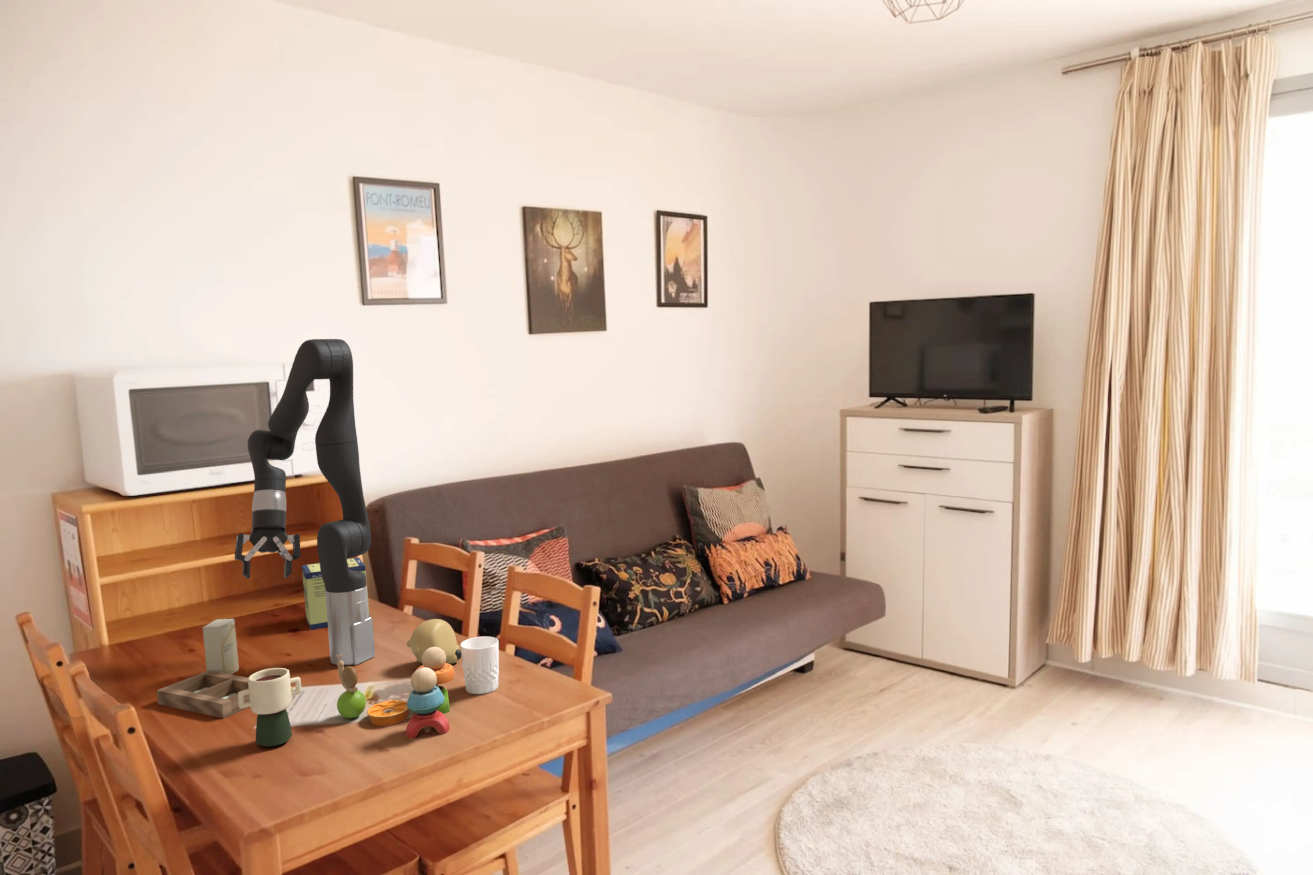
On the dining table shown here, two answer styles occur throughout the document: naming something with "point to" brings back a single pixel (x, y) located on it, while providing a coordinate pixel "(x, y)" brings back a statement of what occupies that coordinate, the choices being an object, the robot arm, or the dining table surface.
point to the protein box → (320, 592)
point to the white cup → (480, 664)
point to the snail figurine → (349, 692)
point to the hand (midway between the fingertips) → (267, 577)
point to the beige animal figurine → (435, 640)
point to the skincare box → (221, 646)
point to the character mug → (270, 704)
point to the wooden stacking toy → (420, 698)
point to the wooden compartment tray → (206, 694)
